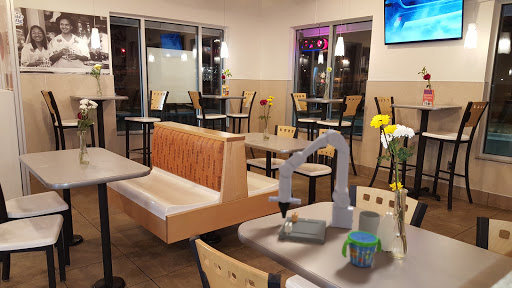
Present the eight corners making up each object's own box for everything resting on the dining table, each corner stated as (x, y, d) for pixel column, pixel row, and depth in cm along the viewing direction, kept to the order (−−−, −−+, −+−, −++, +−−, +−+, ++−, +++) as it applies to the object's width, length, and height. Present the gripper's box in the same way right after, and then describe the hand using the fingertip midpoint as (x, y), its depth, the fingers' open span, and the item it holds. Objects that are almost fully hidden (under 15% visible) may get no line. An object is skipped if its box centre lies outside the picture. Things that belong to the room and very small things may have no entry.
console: (326, 224, 165) (326, 220, 164) (323, 244, 145) (323, 239, 144) (287, 220, 169) (287, 216, 169) (279, 238, 149) (279, 234, 148)
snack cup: (372, 254, 137) (374, 229, 135) (388, 268, 127) (390, 241, 125) (334, 258, 133) (336, 232, 132) (348, 272, 123) (349, 244, 122)
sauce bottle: (378, 244, 146) (382, 201, 143) (399, 249, 141) (403, 206, 138) (372, 251, 139) (376, 207, 136) (393, 257, 135) (397, 211, 132)
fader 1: (291, 229, 153) (292, 222, 153) (290, 232, 149) (290, 225, 149) (286, 228, 154) (286, 221, 153) (284, 232, 150) (284, 225, 149)
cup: (375, 233, 157) (377, 211, 155) (380, 241, 149) (382, 218, 147) (356, 232, 157) (357, 210, 156) (359, 240, 149) (361, 217, 148)
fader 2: (298, 218, 165) (298, 212, 165) (296, 221, 162) (297, 215, 161) (292, 218, 166) (292, 211, 165) (291, 221, 162) (291, 214, 162)
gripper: (267, 190, 160) (266, 219, 163) (299, 193, 157) (298, 222, 159) (270, 185, 167) (269, 213, 169) (301, 188, 164) (300, 216, 166)
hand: (284, 217), depth 165 cm, fingers closed
